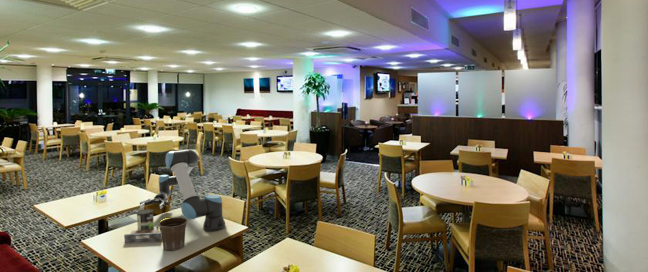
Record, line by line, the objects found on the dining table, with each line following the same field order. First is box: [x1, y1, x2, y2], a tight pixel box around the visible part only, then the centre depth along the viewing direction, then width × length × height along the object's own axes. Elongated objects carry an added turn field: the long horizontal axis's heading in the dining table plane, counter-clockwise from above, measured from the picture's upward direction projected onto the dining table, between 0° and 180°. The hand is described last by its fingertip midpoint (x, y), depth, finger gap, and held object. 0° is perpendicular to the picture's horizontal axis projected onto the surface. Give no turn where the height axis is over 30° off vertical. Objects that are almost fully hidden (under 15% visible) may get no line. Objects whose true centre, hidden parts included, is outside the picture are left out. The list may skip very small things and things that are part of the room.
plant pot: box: [158, 216, 188, 252], centre depth 217 cm, size 16×16×16 cm
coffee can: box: [136, 208, 155, 230], centre depth 241 cm, size 10×10×14 cm
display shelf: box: [123, 229, 163, 244], centre depth 230 cm, size 22×14×6 cm, turn 97°
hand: (150, 207), depth 251 cm, fingers open, 13 cm apart
